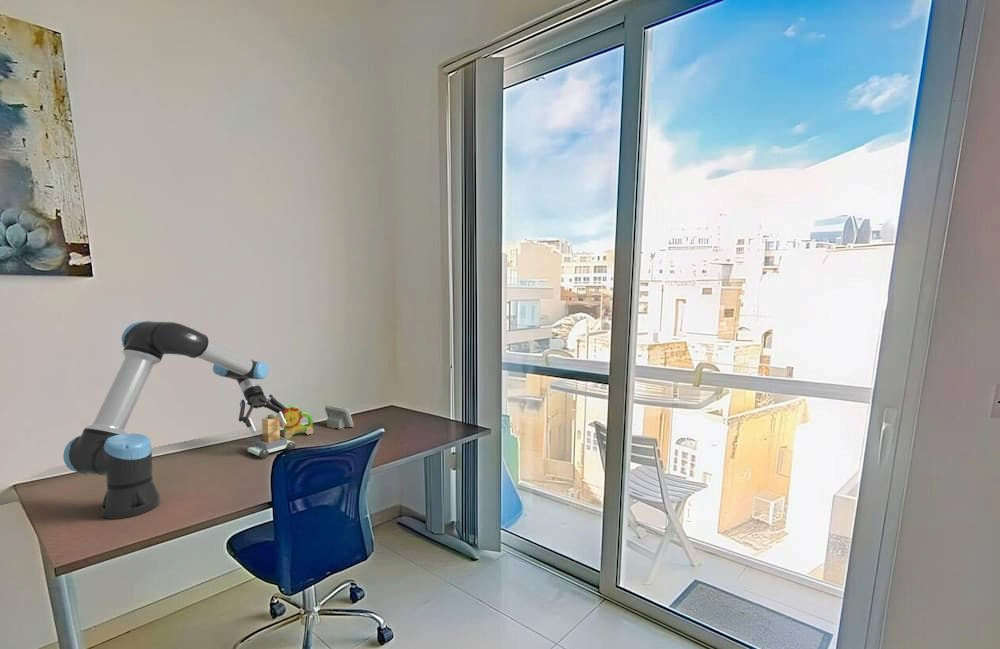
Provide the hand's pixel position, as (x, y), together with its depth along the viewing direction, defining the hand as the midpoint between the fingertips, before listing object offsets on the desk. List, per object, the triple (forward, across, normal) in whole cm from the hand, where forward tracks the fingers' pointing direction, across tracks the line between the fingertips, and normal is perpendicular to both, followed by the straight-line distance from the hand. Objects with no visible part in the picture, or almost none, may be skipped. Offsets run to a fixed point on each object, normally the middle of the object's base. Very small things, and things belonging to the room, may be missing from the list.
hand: (270, 428), depth 207 cm
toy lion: (0, -18, -15) cm, 23 cm away
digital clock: (+2, -40, -13) cm, 42 cm away
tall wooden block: (+6, 0, -4) cm, 7 cm away
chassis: (+8, 0, -6) cm, 10 cm away
